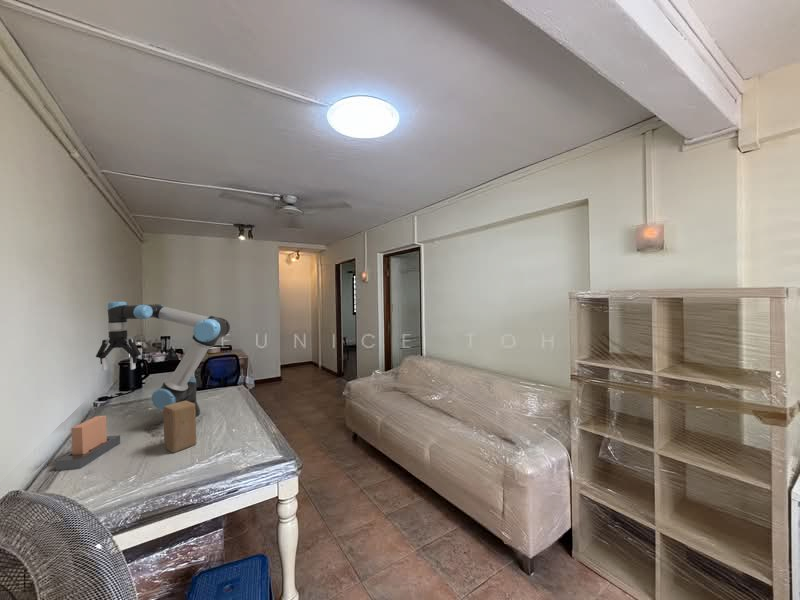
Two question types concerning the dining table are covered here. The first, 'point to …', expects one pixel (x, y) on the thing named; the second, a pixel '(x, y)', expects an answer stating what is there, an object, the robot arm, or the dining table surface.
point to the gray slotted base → (86, 455)
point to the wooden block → (179, 425)
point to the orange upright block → (88, 435)
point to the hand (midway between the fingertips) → (119, 369)
